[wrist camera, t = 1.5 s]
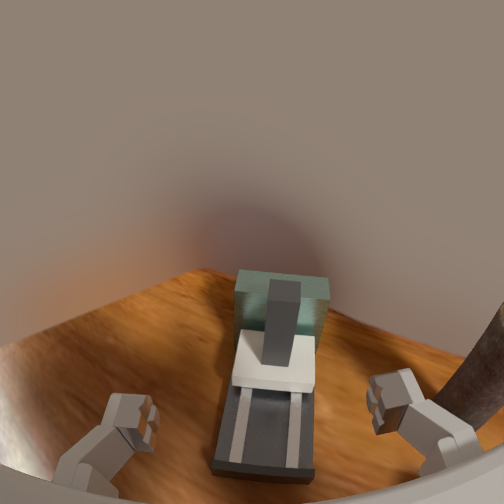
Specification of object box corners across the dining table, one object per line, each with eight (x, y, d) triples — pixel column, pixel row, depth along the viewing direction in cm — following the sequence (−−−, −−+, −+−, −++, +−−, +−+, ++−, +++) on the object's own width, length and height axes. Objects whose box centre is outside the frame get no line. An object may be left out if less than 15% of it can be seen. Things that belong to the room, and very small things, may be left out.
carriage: (232, 385, 35) (230, 311, 28) (240, 339, 40) (242, 263, 33) (311, 392, 34) (334, 321, 27) (311, 346, 40) (329, 272, 33)
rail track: (207, 474, 28) (197, 442, 22) (238, 324, 46) (239, 269, 40) (313, 484, 27) (337, 455, 21) (315, 332, 45) (328, 277, 39)
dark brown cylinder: (445, 464, 26) (555, 362, 15) (405, 432, 31) (493, 316, 20) (472, 423, 30) (563, 315, 19) (434, 395, 35) (511, 278, 24)
